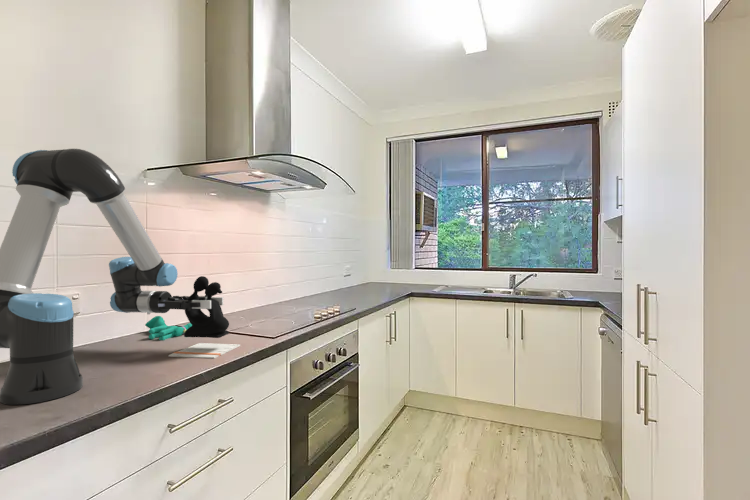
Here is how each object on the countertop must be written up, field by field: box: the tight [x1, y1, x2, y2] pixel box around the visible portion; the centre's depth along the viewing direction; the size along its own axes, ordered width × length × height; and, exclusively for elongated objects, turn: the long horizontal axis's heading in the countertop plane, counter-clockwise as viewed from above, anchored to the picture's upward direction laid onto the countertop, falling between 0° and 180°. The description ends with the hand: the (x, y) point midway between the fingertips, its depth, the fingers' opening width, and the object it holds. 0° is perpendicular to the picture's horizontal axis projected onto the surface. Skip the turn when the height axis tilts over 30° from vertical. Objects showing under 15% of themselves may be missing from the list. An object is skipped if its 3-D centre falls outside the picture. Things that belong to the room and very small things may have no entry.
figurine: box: [183, 275, 230, 339], centre depth 133 cm, size 14×9×20 cm, turn 83°
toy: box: [145, 315, 192, 341], centre depth 159 cm, size 7×22×20 cm
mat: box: [168, 342, 241, 359], centre depth 133 cm, size 16×16×1 cm
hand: (216, 302), depth 133 cm, fingers closed on figurine, 7 cm apart
